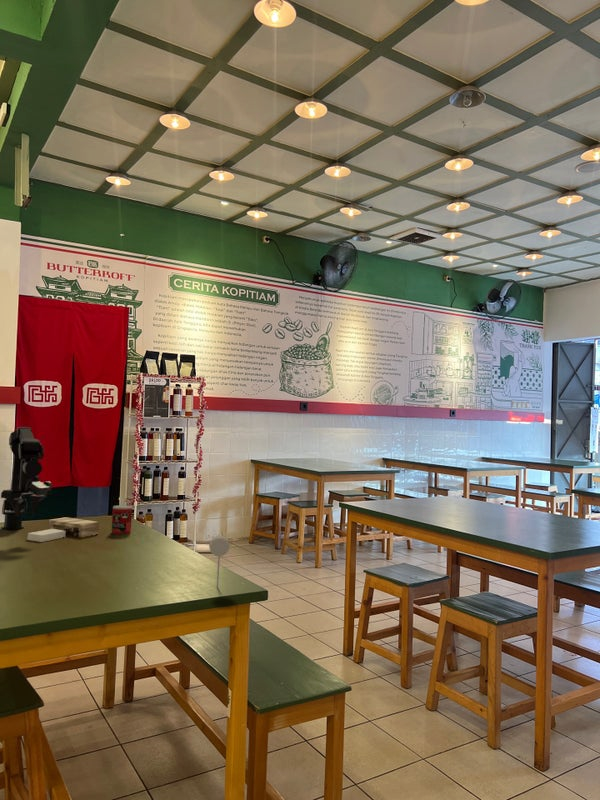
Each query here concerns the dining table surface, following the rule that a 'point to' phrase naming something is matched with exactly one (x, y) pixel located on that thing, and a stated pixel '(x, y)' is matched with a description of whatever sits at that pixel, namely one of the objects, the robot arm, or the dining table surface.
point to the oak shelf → (75, 526)
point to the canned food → (121, 519)
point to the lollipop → (219, 549)
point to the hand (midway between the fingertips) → (25, 515)
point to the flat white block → (46, 535)
